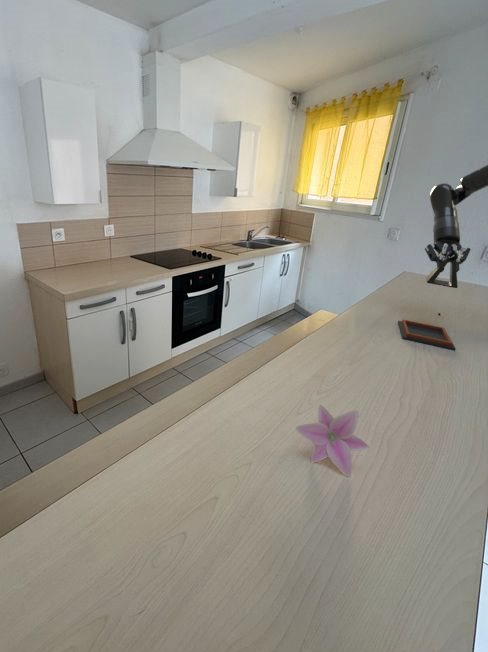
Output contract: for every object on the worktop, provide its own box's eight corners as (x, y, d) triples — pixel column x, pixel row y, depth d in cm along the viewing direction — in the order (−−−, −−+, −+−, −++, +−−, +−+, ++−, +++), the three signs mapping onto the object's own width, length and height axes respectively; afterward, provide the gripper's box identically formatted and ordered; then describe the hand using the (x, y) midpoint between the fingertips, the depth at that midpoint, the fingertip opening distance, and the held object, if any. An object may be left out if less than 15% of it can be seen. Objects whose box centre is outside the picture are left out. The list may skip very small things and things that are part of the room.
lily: (283, 443, 67) (293, 429, 60) (316, 405, 72) (329, 388, 64) (333, 491, 62) (351, 483, 54) (366, 447, 66) (387, 434, 59)
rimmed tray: (444, 332, 118) (446, 327, 118) (454, 350, 106) (457, 345, 105) (397, 322, 124) (399, 317, 123) (402, 338, 112) (404, 333, 111)
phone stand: (426, 282, 117) (437, 250, 112) (425, 278, 122) (436, 247, 117) (457, 288, 113) (470, 254, 108) (455, 283, 117) (468, 251, 113)
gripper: (429, 223, 118) (430, 264, 112) (475, 227, 114) (478, 269, 108) (419, 235, 125) (420, 274, 119) (462, 239, 121) (465, 279, 115)
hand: (448, 271), depth 113 cm, fingers closed on phone stand, 3 cm apart
